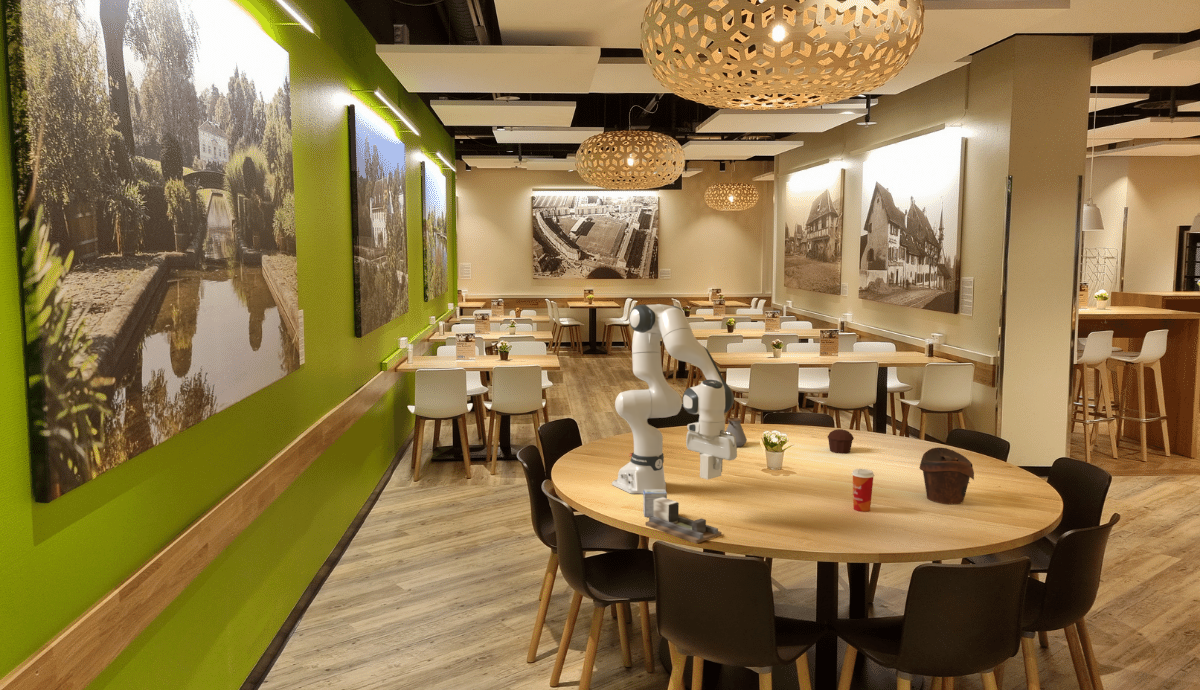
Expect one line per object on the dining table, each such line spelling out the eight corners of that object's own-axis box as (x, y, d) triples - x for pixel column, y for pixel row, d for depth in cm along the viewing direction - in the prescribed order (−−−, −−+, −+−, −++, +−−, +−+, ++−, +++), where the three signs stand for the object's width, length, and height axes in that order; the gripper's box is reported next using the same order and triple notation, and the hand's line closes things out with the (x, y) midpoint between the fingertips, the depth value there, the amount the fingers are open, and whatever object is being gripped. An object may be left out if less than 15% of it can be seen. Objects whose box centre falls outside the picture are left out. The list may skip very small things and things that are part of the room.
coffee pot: (724, 441, 393) (725, 411, 391) (748, 443, 389) (749, 412, 387) (716, 452, 373) (716, 419, 371) (741, 454, 369) (741, 421, 367)
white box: (699, 477, 277) (700, 454, 276) (714, 473, 282) (715, 450, 281) (707, 479, 275) (708, 456, 274) (722, 475, 280) (723, 452, 279)
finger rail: (645, 525, 273) (645, 502, 272) (670, 517, 280) (670, 495, 279) (696, 543, 255) (696, 518, 254) (721, 534, 263) (721, 511, 262)
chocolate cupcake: (954, 510, 288) (957, 461, 286) (906, 496, 304) (909, 449, 303) (984, 503, 297) (987, 455, 295) (936, 490, 314) (939, 444, 312)
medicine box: (665, 512, 286) (665, 489, 285) (667, 517, 281) (667, 492, 280) (643, 513, 285) (643, 489, 284) (644, 517, 281) (644, 492, 280)
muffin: (823, 451, 373) (824, 430, 372) (831, 447, 382) (832, 426, 381) (849, 455, 366) (849, 433, 365) (856, 450, 375) (857, 429, 374)
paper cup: (847, 505, 293) (849, 468, 292) (869, 506, 293) (870, 468, 291) (853, 512, 286) (855, 474, 284) (876, 513, 285) (877, 474, 284)
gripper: (741, 432, 270) (740, 472, 272) (696, 421, 286) (695, 460, 288) (729, 435, 266) (728, 475, 268) (683, 424, 282) (683, 463, 283)
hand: (710, 467), depth 278 cm, fingers closed on white box, 4 cm apart
